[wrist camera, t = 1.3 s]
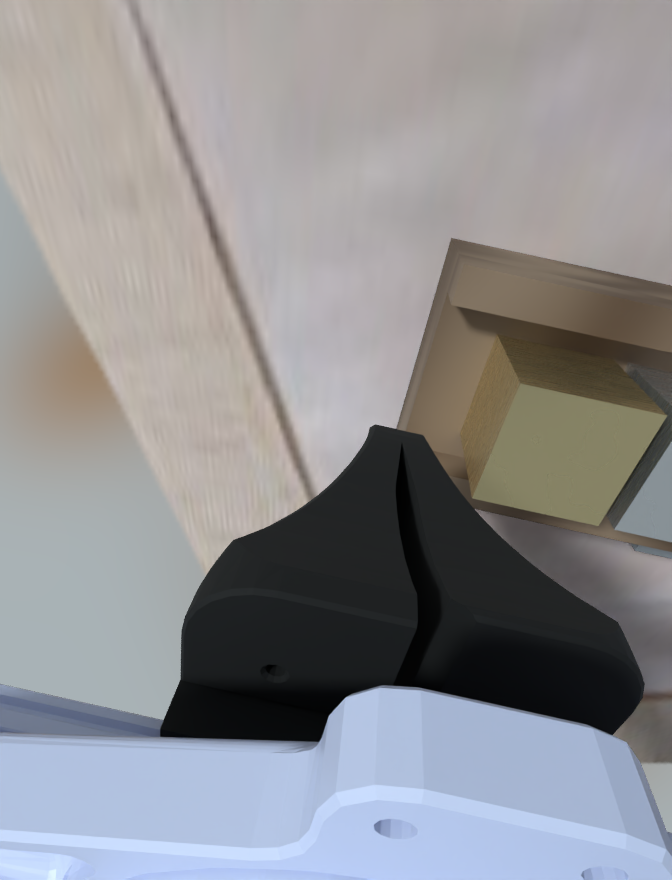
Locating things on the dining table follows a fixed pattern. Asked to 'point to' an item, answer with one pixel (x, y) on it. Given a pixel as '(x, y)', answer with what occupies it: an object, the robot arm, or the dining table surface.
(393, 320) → the dining table surface
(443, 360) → the slot block
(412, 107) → the dining table surface
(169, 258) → the dining table surface
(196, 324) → the dining table surface
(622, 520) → the grey cube
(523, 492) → the yellow cube
